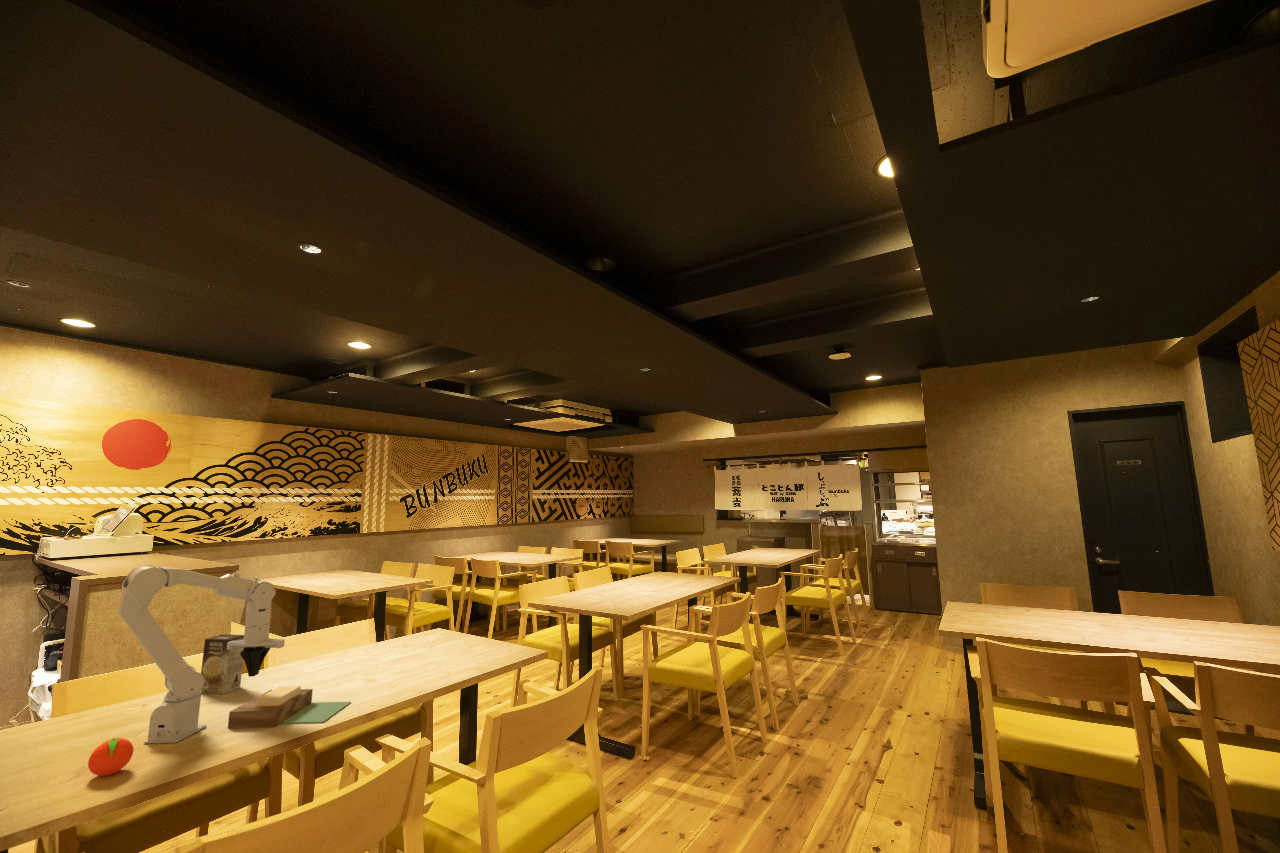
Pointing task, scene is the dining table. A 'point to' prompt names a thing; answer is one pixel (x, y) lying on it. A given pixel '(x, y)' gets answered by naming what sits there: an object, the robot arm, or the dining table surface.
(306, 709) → the mat
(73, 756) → the dining table surface
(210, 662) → the coffee box
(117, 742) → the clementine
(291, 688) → the tile
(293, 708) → the brown wooden block
